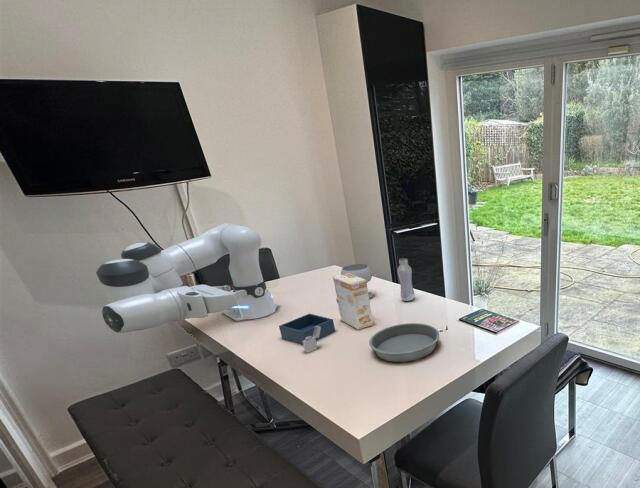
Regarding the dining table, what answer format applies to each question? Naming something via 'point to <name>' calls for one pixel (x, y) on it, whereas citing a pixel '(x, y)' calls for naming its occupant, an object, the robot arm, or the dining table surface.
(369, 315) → the coffeecake box
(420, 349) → the cake pan
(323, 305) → the dining table surface
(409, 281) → the plastic bottle
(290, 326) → the basket
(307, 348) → the lighter
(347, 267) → the chalice
